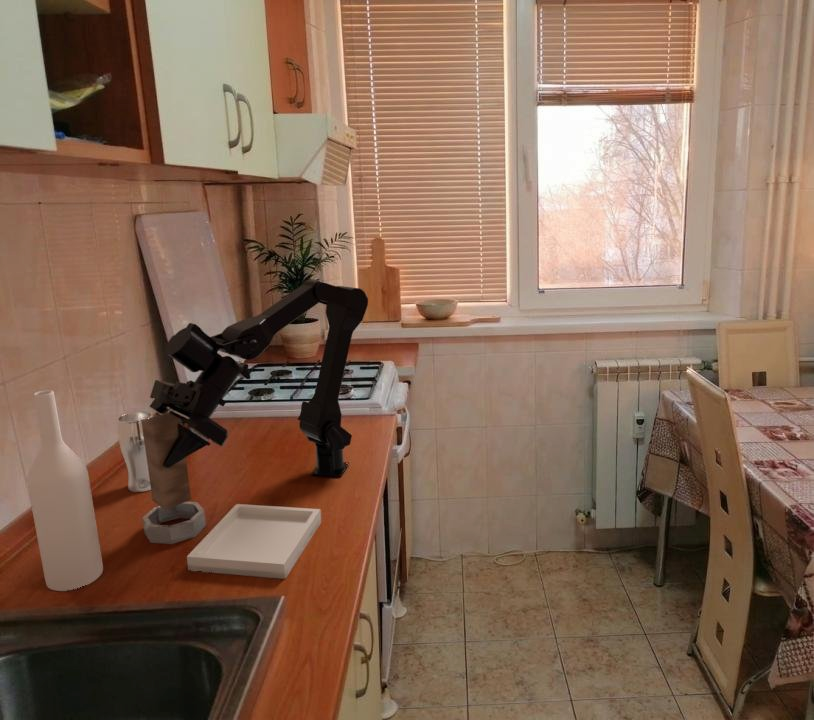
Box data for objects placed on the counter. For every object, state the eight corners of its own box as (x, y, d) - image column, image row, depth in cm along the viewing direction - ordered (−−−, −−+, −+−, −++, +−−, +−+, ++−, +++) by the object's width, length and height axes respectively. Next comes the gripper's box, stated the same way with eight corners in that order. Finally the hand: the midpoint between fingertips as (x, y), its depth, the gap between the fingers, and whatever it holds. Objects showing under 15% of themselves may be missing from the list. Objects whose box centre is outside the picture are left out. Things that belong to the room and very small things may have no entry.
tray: (237, 516, 120) (236, 503, 119) (321, 521, 117) (320, 509, 116) (188, 570, 103) (186, 556, 102) (285, 578, 100) (284, 564, 99)
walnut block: (178, 491, 118) (168, 412, 114) (191, 499, 114) (180, 419, 110) (152, 500, 114) (141, 419, 111) (164, 509, 111) (153, 426, 107)
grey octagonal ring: (165, 514, 121) (163, 500, 120) (213, 518, 119) (211, 503, 119) (135, 541, 112) (133, 525, 111) (186, 545, 110) (184, 529, 110)
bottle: (36, 593, 98) (-1, 402, 90) (59, 564, 106) (28, 386, 98) (91, 590, 98) (60, 399, 91) (111, 560, 106) (83, 383, 99)
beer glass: (121, 485, 134) (111, 416, 131) (155, 475, 139) (146, 408, 135) (132, 496, 129) (122, 424, 125) (167, 486, 133) (158, 416, 130)
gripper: (153, 353, 118) (99, 427, 113) (203, 370, 104) (144, 455, 100) (199, 385, 125) (150, 456, 120) (251, 405, 112) (197, 486, 107)
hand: (158, 462), depth 112 cm, fingers closed on walnut block, 5 cm apart
